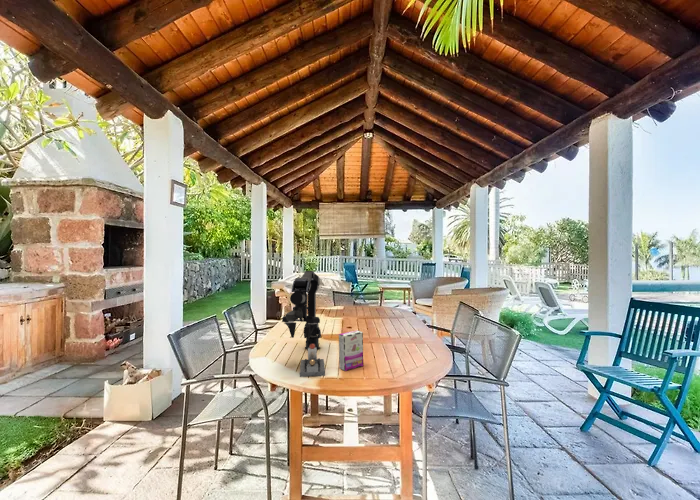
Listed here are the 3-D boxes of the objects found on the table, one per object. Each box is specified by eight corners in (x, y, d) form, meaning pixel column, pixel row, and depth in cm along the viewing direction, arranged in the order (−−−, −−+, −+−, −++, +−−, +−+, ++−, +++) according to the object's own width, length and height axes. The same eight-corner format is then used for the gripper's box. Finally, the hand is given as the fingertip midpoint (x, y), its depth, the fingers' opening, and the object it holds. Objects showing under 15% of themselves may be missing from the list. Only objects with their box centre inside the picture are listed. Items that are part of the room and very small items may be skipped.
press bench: (301, 363, 166) (301, 349, 166) (323, 362, 167) (323, 348, 167) (299, 377, 149) (299, 361, 149) (324, 376, 151) (324, 360, 150)
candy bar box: (357, 363, 166) (357, 329, 166) (363, 366, 162) (363, 332, 162) (338, 368, 160) (338, 333, 160) (344, 371, 156) (344, 335, 156)
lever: (308, 361, 158) (307, 342, 158) (316, 361, 159) (316, 342, 159) (308, 363, 156) (307, 344, 156) (316, 363, 156) (316, 344, 156)
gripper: (274, 304, 160) (273, 338, 158) (305, 305, 151) (304, 341, 148) (290, 304, 170) (289, 336, 167) (320, 304, 160) (320, 339, 158)
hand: (300, 338), depth 160 cm, fingers open, 9 cm apart
